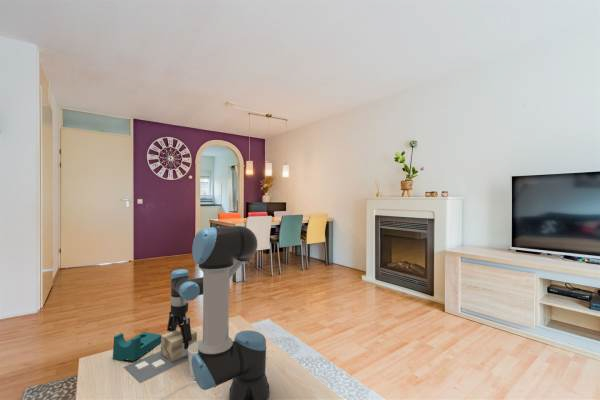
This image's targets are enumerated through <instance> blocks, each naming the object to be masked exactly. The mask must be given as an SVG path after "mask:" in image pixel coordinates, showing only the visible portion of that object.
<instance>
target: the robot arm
mask: <svg viewBox="0 0 600 400" xmlns="http://www.w3.org/2000/svg"><path fill="white" fill-rule="evenodd" d="M257 249H258V239H257V236H256V235H255V233H254V232H253V230H251V229H250V228H249V227H245V226H242V225H235V226H233V225H231V226H215V227H214V226H212V227H204V228H201V229H199V230H198V231H197V232H196V234H195V236H194V238H193V242H192V248H191V253H192V254H191V255H192V259H193V262H194V263H195V264H198V269H200V271H202V273H203V275H202V277H195V278H190V273H189V270H188V269H185V268H181V269H175V270H172V272H171V274H170V311H169V313H168V314H169V315H168V322H167V327H166V329H167V330H166V331H168V332H171V331H174V330H176V329H179V328H180V330H181V334H182V338H183V342H182V356H185V355H187V354H188V347H189V341H191V340H192V336H191V329H192V328H191V318H190V317H188V318H187V316H186V315H187V313H188V311H189V302H190V301H194V300H196V299H197V298H198V297H199V296H202V340H201V341H202V342H201V343H200V344H199V346H198V353H196V354H194V355H193V356H192V369H193V373H194V376H195V378H194V379H196V381H195V382H196V383H197V386H198V387H199V388H200V389H201V390H203V391H207V390H210V389H212V388H216V387H218V386H219V385H222V384H224V383H227V382H228V381H231V380H232V382H231V386H230V387H229V391H228V395H229V396H228V399H229V400H267V399H269V397H270V390H271V389H270V384H269V381H268V377H267V374H266V367H267V366H266V362H267V361H266V360H267V359H266V356H267V339H266V337H265V335H264V334H262V333H260V332H259V331H255V330H241V331H238V332H237V333H236V334H235V336H234V340H233V339H232V338H231V337H229V329H230V328H229V325H230V323H229V319H230V318H229V317H230V315H229V312H230V310H229V307H230V306H229V305H230V304H229V302H230V299H229V298H230V289H229V288H230V279H231V278H232V277H233V276H234V275H235V273H236V272H237V271H238V270H239V268H241V267H242V265H243V264H244V263H245V262H248V261H249V260H251V259H252V257H254V255H255V254H256V252H257Z"/></svg>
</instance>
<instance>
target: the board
mask: <svg viewBox="0 0 600 400" xmlns="http://www.w3.org/2000/svg"><path fill="white" fill-rule="evenodd" d="M160 359H161V360H163V361H164V362H165V365H164V366H162V367H160V368H158V369H155V368H154V367H153V366H152V363H153V362H156V361H158V360H160ZM143 361H146V362H147V363H148V364H149V367H148V368H145V369H143V370H141V371H138V370H137V369H136V368H135V365H137V364H139V363H141V362H143ZM186 361H188V356H186V357H184V358H182V359H180V360H178V361H175V362H173V363H171V362H170V361H169V360H167V359H166V358H165V357H163V356H162V355H161V350H160V351H157V352H154V353H153V354H151V355H150V354H149V355H148V356H146V357H143V358H141V359H139V360H136V361H134V362H132V363H130V364H128V365H125V366H123V369H124V370H126V372H128V373H129V375H131V376H132V377H133V378H134V379H135V380H136V381H137V382H138V383H139V384H142V383H144V382H146V381H149V380H150V379H152V378H154V377H157V376H158V375H160V374H162V373H164V372H166V371H168V370H170V369H173V368H174V367H176V366H179V365H182V364H183V363H185V362H186Z"/></svg>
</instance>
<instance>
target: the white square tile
mask: <svg viewBox="0 0 600 400" xmlns="http://www.w3.org/2000/svg"><path fill="white" fill-rule="evenodd" d="M148 367H149V364H148V363H147V362H146V361H143V362H141V363H139V364H137V365H135V368H136V369H137V370H138V371H141V370H143V369H145V368H148Z"/></svg>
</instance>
